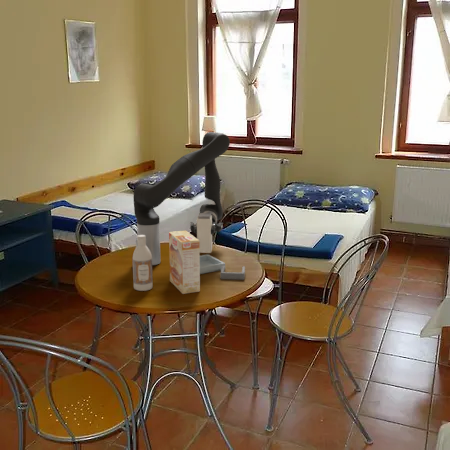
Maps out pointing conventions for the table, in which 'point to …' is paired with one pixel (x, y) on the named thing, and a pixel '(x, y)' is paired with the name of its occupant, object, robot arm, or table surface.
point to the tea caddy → (204, 232)
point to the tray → (210, 264)
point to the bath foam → (142, 266)
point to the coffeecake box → (184, 261)
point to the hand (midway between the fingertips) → (204, 231)
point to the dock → (232, 274)
